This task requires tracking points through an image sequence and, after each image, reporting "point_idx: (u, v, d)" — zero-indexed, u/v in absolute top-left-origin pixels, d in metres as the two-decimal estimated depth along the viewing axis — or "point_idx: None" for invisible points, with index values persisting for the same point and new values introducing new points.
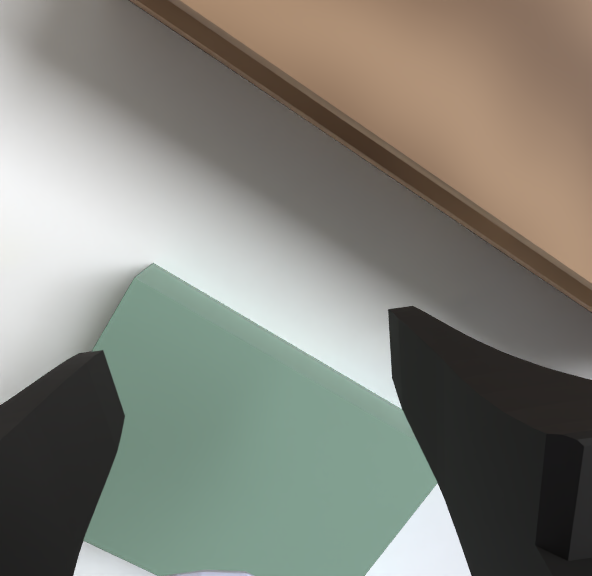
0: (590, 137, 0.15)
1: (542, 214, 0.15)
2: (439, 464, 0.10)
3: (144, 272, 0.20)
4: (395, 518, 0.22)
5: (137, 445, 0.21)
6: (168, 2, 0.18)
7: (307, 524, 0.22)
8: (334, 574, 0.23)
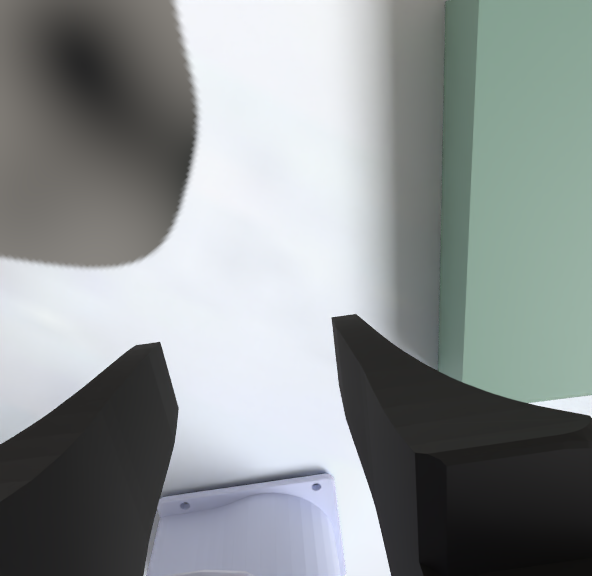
0: None
1: None
2: (370, 474, 0.10)
3: None
4: None
5: None
6: None
7: None
8: (559, 374, 0.21)
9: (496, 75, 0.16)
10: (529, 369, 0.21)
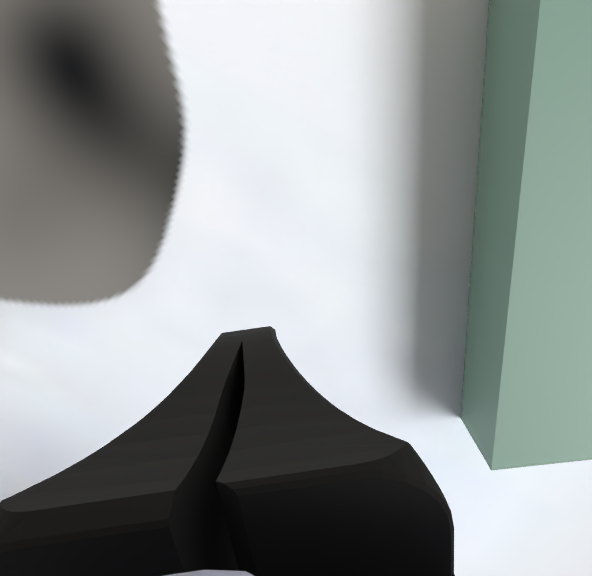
0: None
1: None
2: None
3: None
4: None
5: None
6: None
7: None
8: None
9: (558, 74, 0.13)
10: (574, 423, 0.17)
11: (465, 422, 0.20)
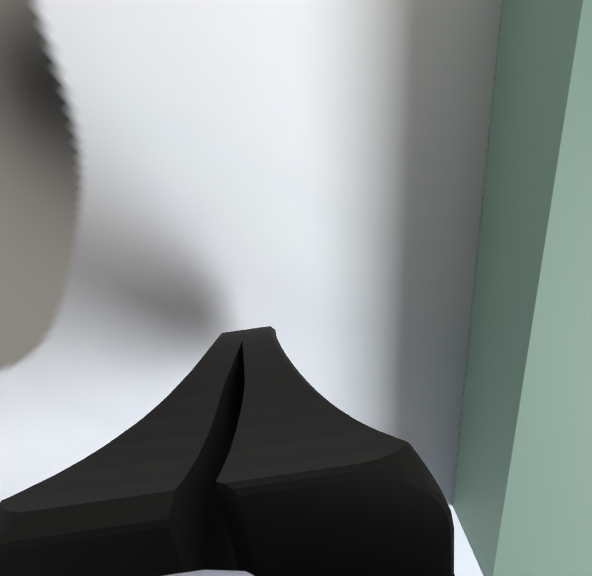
0: None
1: None
2: None
3: None
4: None
5: None
6: None
7: None
8: None
9: None
10: None
11: (458, 513, 0.16)
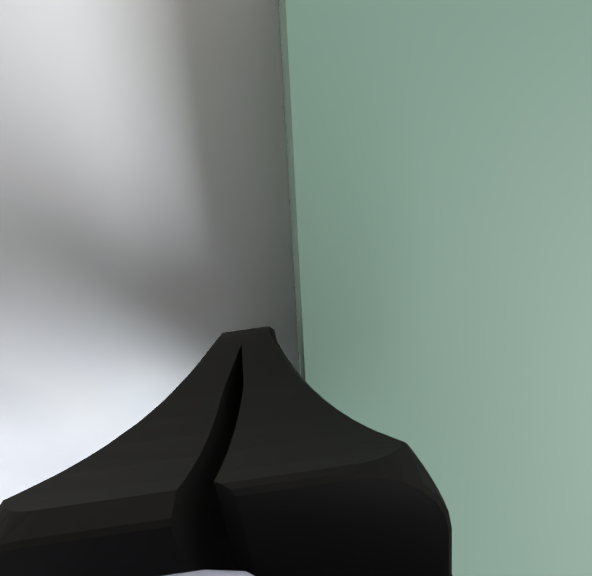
0: None
1: None
2: None
3: None
4: None
5: (589, 159, 0.09)
6: None
7: (542, 498, 0.12)
8: (468, 573, 0.13)
9: (331, 114, 0.08)
10: None
11: None
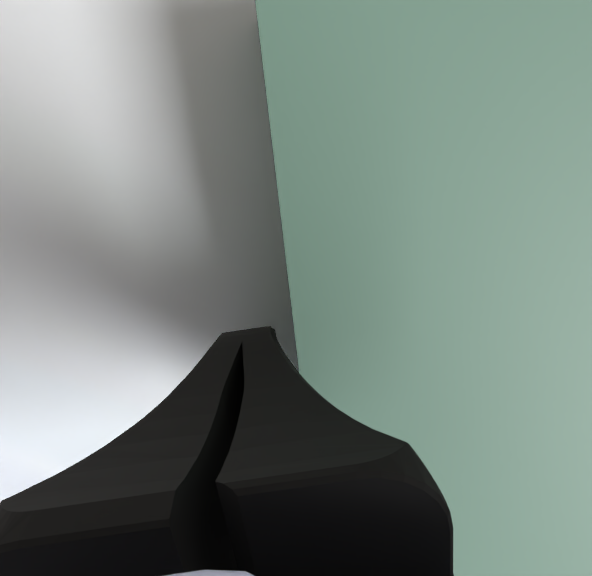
0: None
1: None
2: None
3: None
4: None
5: (563, 183, 0.09)
6: None
7: (540, 505, 0.13)
8: None
9: (311, 155, 0.09)
10: None
11: None
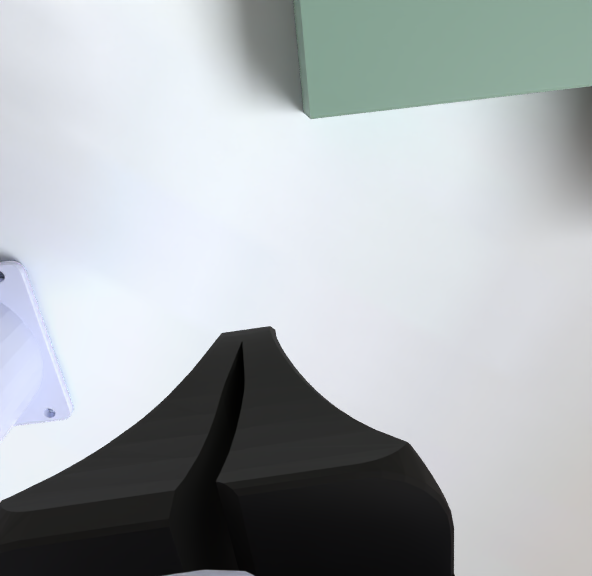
0: None
1: None
2: None
3: None
4: (558, 71, 0.16)
5: None
6: None
7: None
8: (437, 61, 0.16)
9: None
10: (396, 49, 0.15)
11: (304, 108, 0.18)
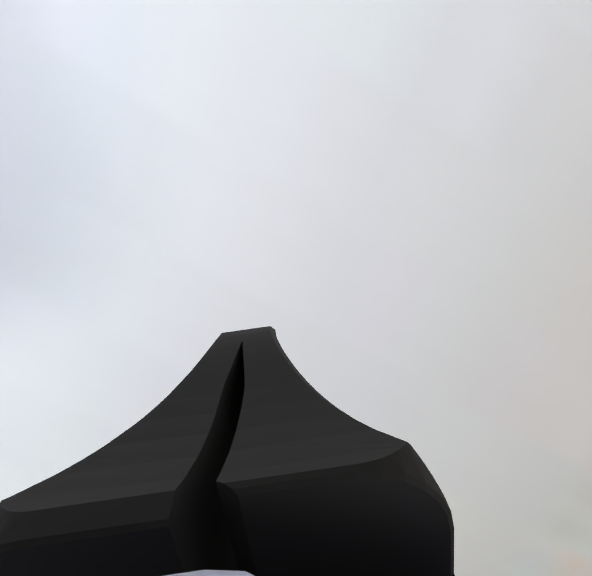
0: None
1: None
2: None
3: None
4: None
5: None
6: None
7: None
8: None
9: None
10: None
11: None
